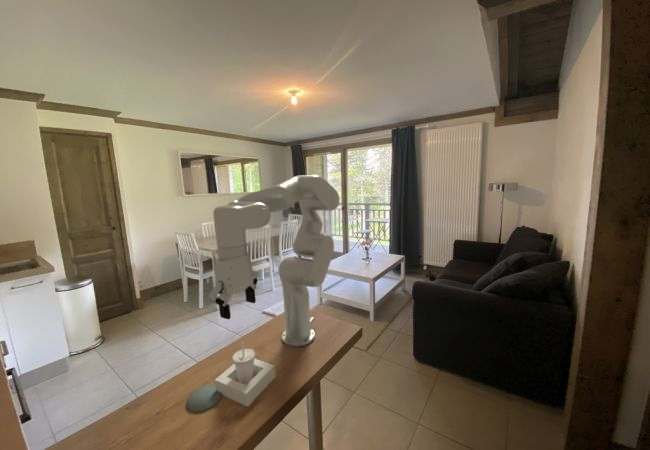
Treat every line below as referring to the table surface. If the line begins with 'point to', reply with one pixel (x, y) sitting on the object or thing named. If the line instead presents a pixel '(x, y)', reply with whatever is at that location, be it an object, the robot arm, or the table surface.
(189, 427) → the table surface
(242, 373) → the lidded cup with straw
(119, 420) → the table surface
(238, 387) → the holder
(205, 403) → the coaster
